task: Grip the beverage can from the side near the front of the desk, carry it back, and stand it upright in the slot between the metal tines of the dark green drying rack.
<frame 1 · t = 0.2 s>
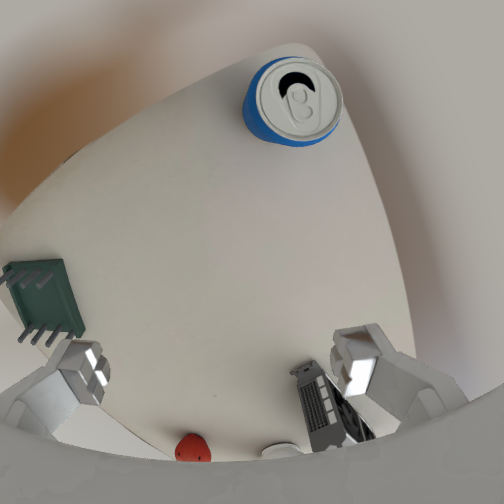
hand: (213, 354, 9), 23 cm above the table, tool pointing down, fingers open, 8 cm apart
apple: (194, 435, 47), on the table
drying rack: (45, 295, 33), on the table
vase: (280, 449, 51), on the table
beverage can: (274, 112, 27), on the table
graphics card: (340, 407, 46), on the table
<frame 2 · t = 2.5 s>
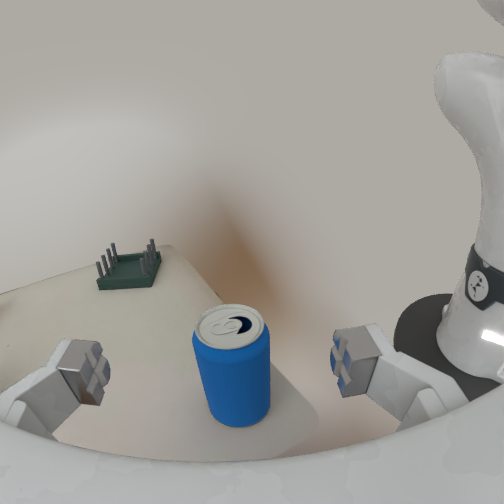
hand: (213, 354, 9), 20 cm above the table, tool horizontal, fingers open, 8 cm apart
drying rack: (131, 274, 56), on the table
beverage can: (240, 407, 28), on the table
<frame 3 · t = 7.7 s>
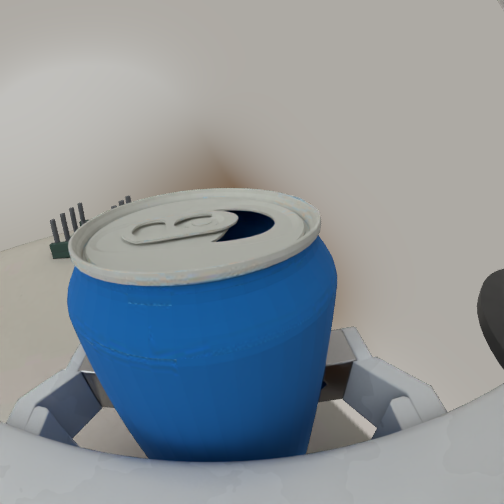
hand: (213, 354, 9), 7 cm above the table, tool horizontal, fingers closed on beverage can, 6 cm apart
drying rack: (97, 241, 40), on the table
beverage can: (233, 464, 11), on the table, touching gripper
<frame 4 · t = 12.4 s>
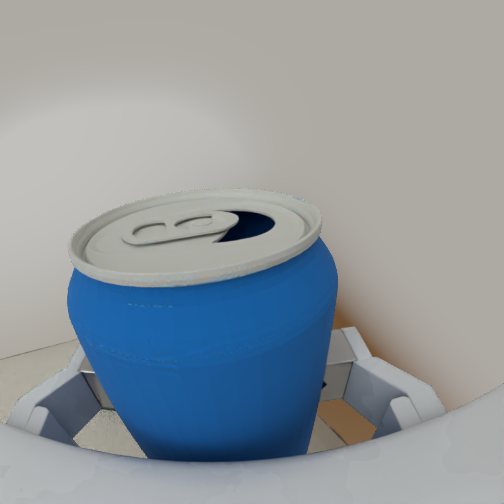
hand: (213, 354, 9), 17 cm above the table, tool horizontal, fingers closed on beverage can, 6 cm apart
beverage can: (234, 465, 11), point 10 cm above the table, touching gripper
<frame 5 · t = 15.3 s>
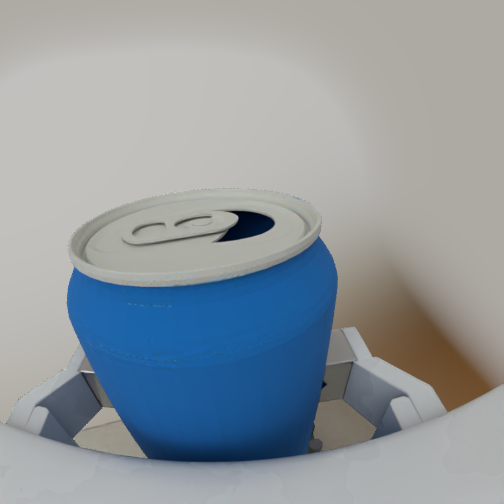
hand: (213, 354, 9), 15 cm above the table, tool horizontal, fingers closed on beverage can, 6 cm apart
beverage can: (233, 465, 11), point 8 cm above the table, touching gripper
when the fingers open (8 cm above the table, at t = 17.7 s): beverage can stays where it is, resting on drying rack.
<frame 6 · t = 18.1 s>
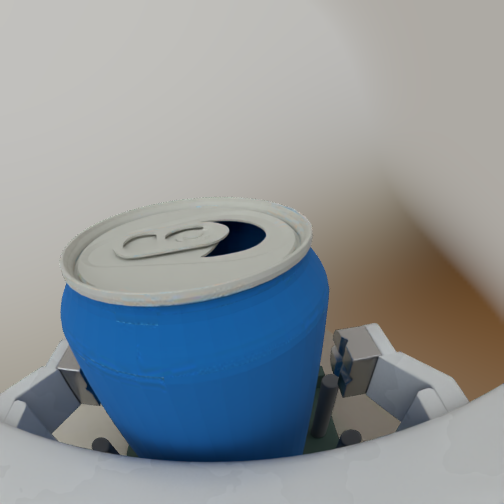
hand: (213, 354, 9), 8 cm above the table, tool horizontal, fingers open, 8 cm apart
drying rack: (233, 472, 12), on the table
beverage can: (230, 469, 11), point 1 cm above the table, touching drying rack
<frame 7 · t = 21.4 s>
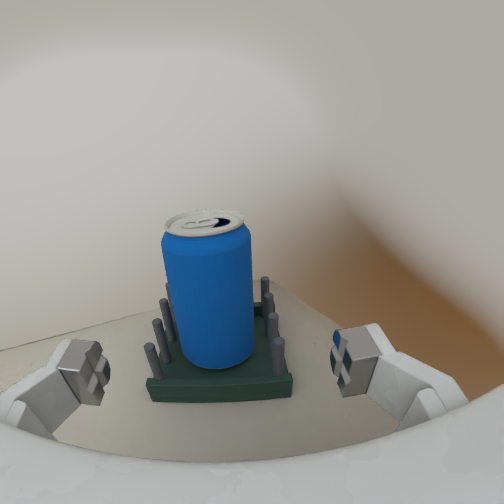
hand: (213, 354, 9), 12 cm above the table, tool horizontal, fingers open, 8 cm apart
drying rack: (220, 356, 26), on the table
beverage can: (219, 350, 25), point 1 cm above the table, touching drying rack
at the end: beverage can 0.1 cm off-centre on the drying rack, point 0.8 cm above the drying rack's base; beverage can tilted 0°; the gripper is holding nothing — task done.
